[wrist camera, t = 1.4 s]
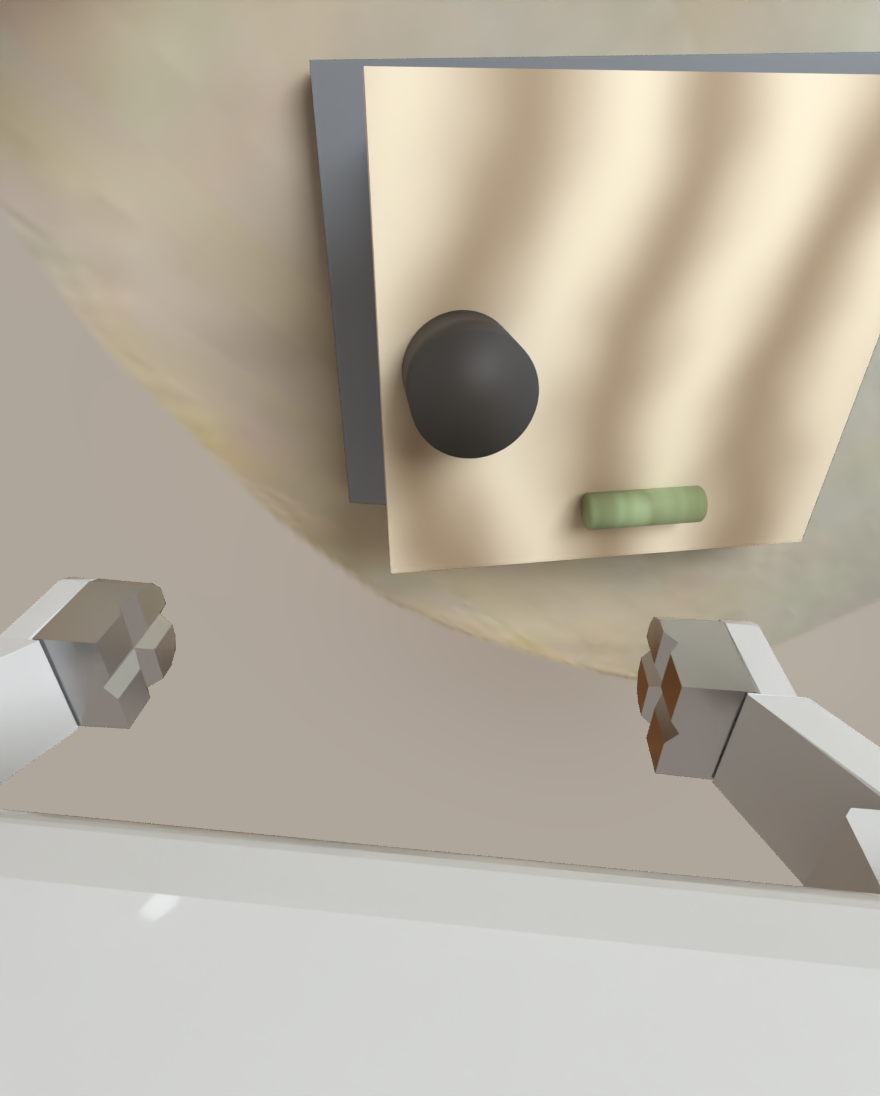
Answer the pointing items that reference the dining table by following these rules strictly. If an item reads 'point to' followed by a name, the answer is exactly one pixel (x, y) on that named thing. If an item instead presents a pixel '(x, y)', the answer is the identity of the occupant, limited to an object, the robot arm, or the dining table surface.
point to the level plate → (616, 305)
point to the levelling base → (351, 221)
